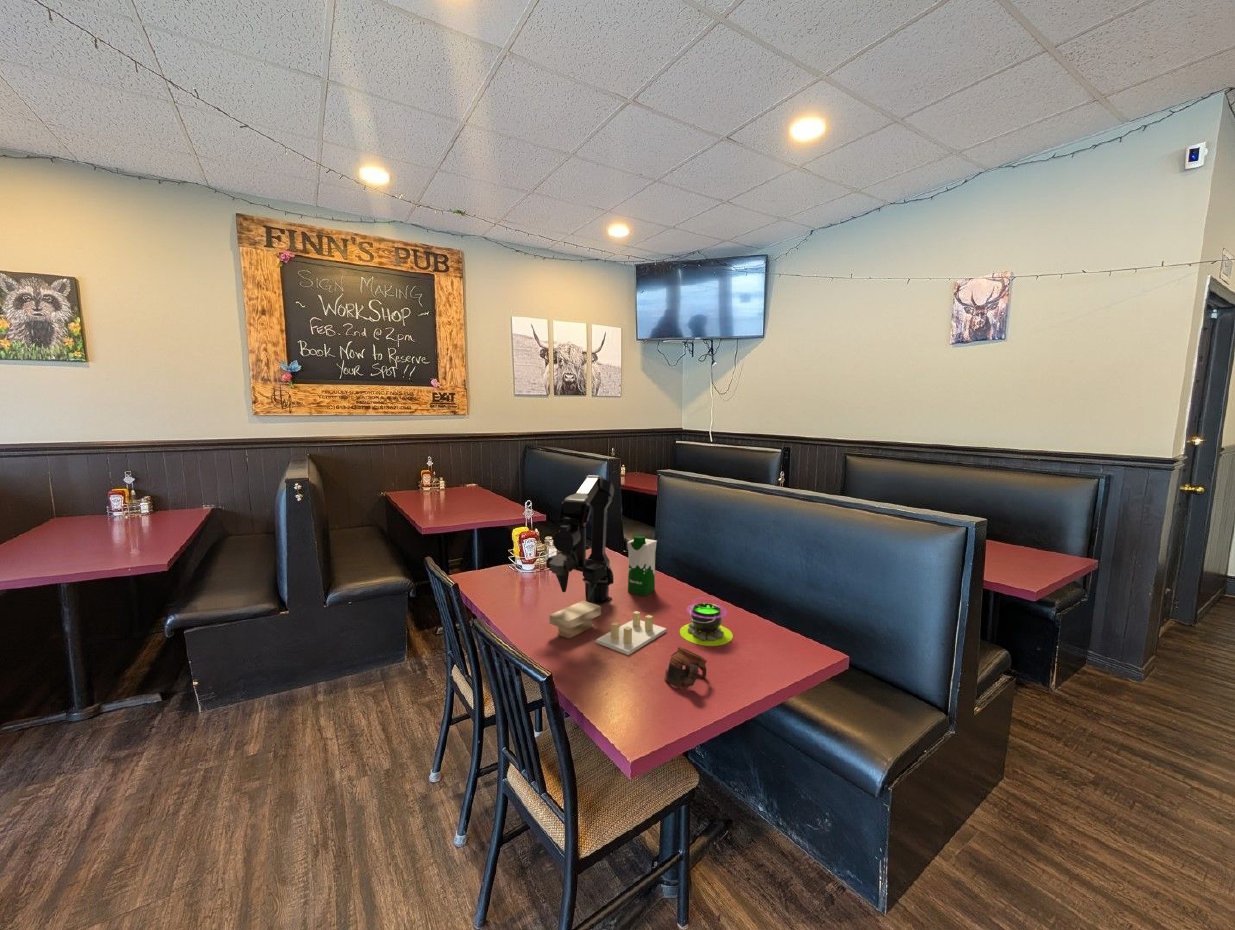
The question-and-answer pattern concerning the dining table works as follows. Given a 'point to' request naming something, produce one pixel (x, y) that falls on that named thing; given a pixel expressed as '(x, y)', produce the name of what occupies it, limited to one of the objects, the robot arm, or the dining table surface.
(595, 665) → the dining table surface
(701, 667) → the pottery mug
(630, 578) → the milk carton
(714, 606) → the toy cauldron
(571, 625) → the board
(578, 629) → the block
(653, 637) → the peg frame
